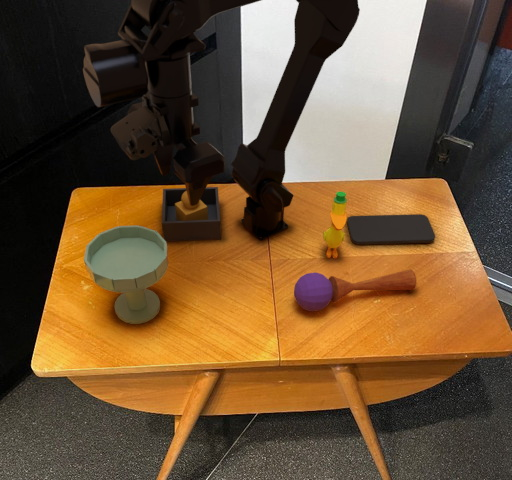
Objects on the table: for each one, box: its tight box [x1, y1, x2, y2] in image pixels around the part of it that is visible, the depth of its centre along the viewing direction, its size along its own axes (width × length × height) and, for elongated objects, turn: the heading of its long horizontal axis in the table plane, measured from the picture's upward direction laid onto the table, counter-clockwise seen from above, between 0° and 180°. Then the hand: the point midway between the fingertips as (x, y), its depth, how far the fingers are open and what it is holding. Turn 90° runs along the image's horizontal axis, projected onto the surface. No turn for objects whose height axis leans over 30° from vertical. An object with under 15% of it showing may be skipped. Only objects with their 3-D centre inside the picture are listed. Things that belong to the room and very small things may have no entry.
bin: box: [161, 186, 222, 242], centre depth 98 cm, size 10×10×4 cm
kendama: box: [293, 269, 417, 312], centre depth 86 cm, size 6×6×20 cm
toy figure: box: [322, 191, 348, 259], centre depth 90 cm, size 7×4×12 cm, turn 177°
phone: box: [346, 213, 436, 245], centre depth 99 cm, size 7×1×15 cm
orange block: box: [175, 191, 208, 221], centre depth 97 cm, size 4×4×6 cm
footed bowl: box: [83, 224, 170, 325], centre depth 81 cm, size 11×11×12 cm
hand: (179, 189), depth 84 cm, fingers open, 9 cm apart
